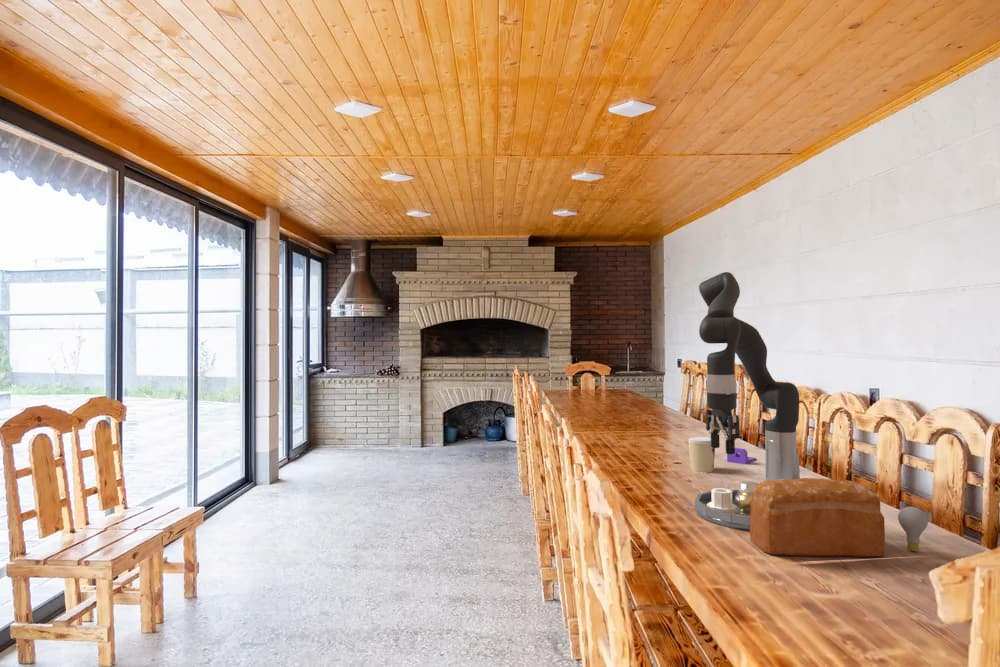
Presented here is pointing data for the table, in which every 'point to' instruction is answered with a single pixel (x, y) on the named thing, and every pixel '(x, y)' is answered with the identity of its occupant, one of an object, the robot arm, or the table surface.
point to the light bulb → (913, 525)
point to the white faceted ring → (722, 500)
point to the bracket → (739, 457)
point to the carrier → (724, 518)
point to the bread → (816, 518)
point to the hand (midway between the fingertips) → (722, 450)
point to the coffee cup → (701, 454)
